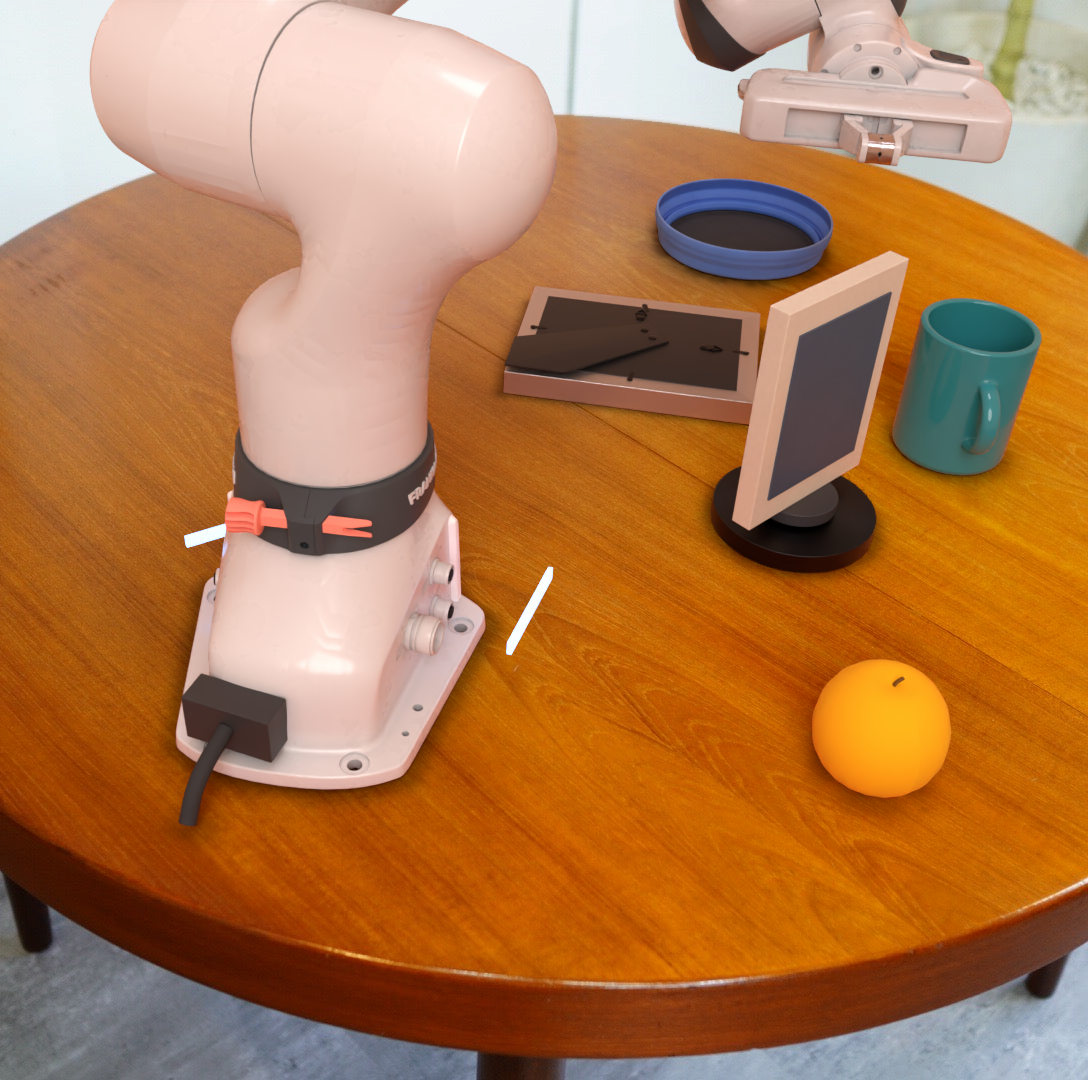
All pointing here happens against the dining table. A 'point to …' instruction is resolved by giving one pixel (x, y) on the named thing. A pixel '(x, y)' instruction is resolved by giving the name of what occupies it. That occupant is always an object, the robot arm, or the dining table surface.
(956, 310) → the cup
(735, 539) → the swivel base
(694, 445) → the dining table surface
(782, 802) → the dining table surface
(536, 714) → the dining table surface
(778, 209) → the bowl
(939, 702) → the orange
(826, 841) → the dining table surface
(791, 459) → the photo frame
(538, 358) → the picture frame
